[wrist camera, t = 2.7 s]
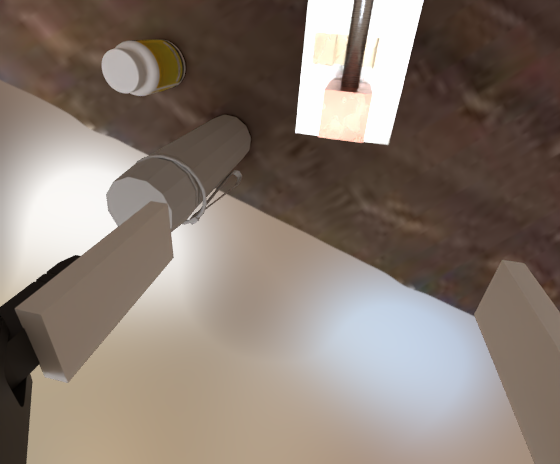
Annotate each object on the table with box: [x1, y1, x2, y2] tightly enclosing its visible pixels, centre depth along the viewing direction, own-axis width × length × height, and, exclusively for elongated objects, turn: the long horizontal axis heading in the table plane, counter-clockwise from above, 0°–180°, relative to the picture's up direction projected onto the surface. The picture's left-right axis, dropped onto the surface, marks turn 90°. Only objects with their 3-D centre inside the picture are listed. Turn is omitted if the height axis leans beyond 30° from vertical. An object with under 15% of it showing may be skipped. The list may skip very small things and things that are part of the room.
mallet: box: [318, 0, 374, 143], centre depth 35 cm, size 24×5×9 cm, turn 176°
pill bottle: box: [102, 39, 186, 96], centre depth 43 cm, size 6×6×11 cm
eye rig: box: [295, 0, 423, 145], centre depth 37 cm, size 26×13×12 cm, turn 176°
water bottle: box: [106, 115, 251, 232], centre depth 41 cm, size 9×8×25 cm
